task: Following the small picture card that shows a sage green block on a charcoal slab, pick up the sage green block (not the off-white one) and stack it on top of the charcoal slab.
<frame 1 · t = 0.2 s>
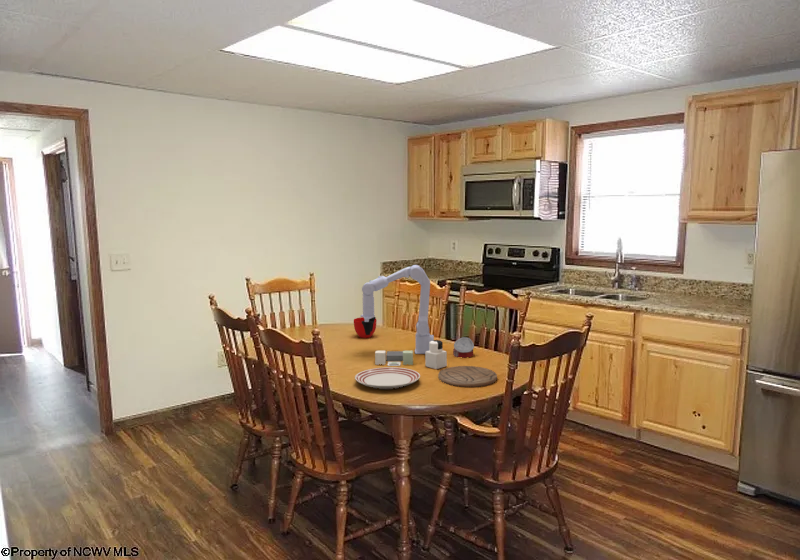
hand: (369, 333, 278), 10 cm above the table, tool pointing down, fingers open, 7 cm apart
canned food: (463, 355, 273), on the table
ceramic cup: (366, 336, 315), on the table
base slab: (395, 359, 268), on the table
medicine bottle: (436, 366, 255), on the table
sage block: (408, 363, 260), on the table
dinner plate: (387, 383, 233), on the table
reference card: (394, 364, 259), on the table
trivet: (467, 379, 237), on the table
offwhite block: (380, 363, 260), on the table
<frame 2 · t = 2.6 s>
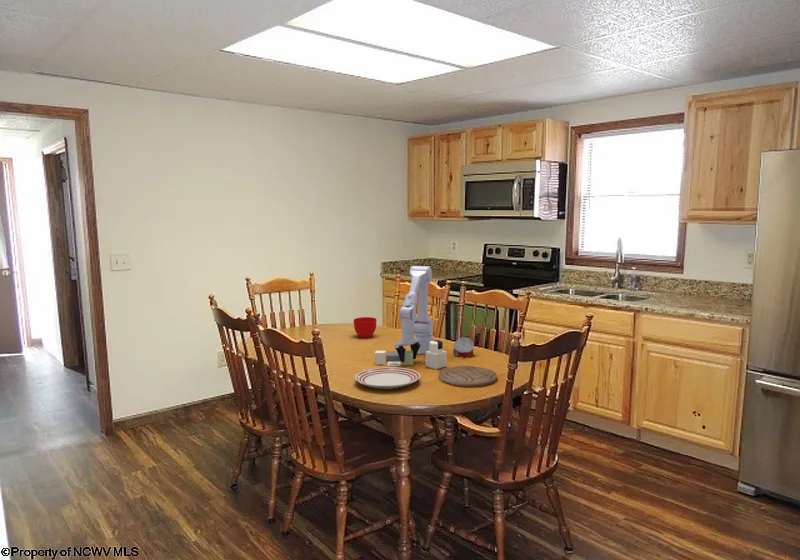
hand: (408, 360, 260), 1 cm above the table, tool pointing down, fingers closed on sage block, 6 cm apart
sage block: (408, 363, 260), on the table, touching gripper
everything else where it was.
when the fingers open (6 cm above the table, at t = 6.0 s): sage block drops 2 cm, resting on base slab.
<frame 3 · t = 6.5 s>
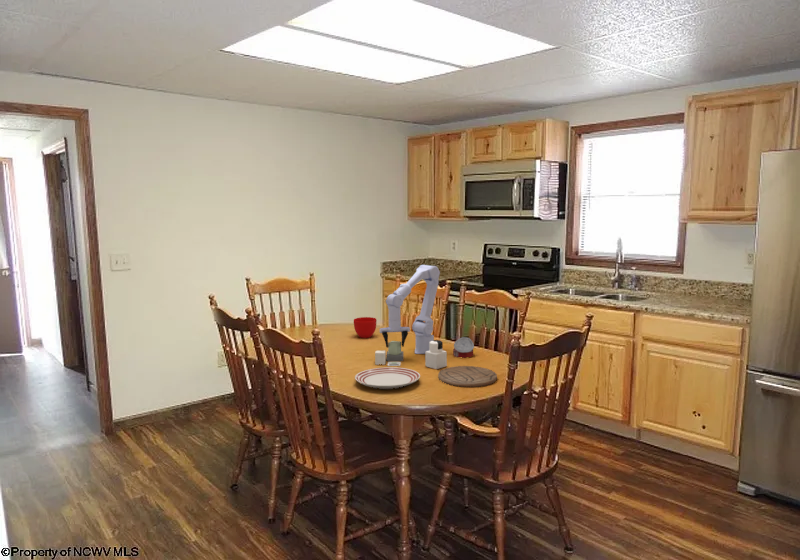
hand: (394, 346, 267), 6 cm above the table, tool pointing down, fingers open, 7 cm apart
base slab: (395, 359, 268), on the table, touching sage block
sage block: (394, 353, 268), point 3 cm above the table, touching base slab
everything else where it was.
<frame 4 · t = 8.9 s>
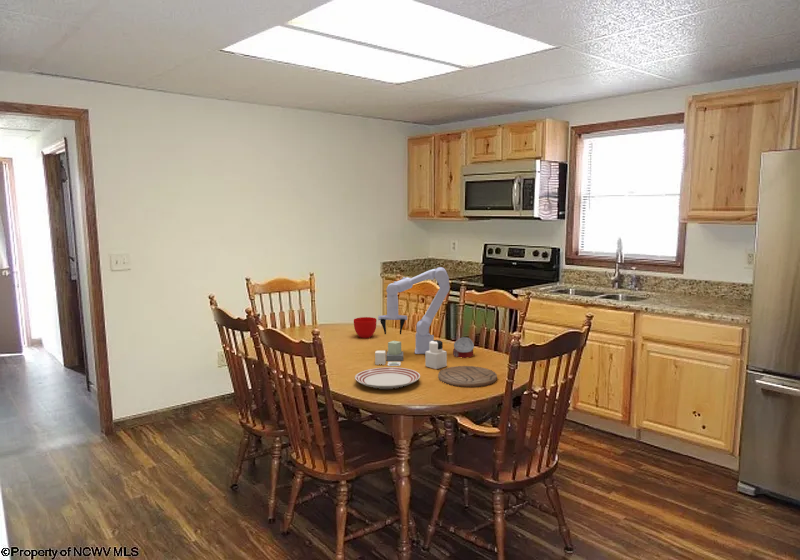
hand: (392, 333, 279), 9 cm above the table, tool pointing down, fingers open, 7 cm apart
nothing on the table moved.
at the end: sage block 0.1 cm off-centre on the base slab, point 3.0 cm above the base slab's base; sage block tilted 0°; the gripper is holding nothing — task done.
